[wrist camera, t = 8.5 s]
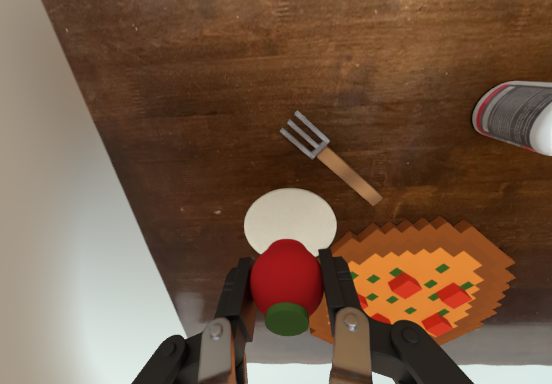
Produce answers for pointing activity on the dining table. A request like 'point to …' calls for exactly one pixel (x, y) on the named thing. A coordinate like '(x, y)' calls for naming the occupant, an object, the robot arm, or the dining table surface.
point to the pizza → (422, 276)
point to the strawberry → (287, 286)
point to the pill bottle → (517, 115)
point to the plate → (290, 220)
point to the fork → (332, 160)
